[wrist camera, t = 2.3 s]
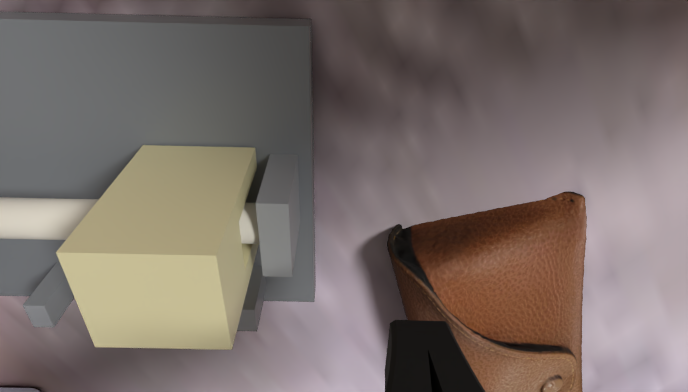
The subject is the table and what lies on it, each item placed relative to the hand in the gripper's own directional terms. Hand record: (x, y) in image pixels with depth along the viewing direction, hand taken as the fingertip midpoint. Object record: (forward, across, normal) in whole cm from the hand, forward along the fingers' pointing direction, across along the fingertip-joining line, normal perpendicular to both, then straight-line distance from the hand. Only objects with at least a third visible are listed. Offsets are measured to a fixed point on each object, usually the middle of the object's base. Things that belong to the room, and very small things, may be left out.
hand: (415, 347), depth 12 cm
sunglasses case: (+9, -6, +10) cm, 15 cm away
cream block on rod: (+7, +7, 0) cm, 10 cm away
